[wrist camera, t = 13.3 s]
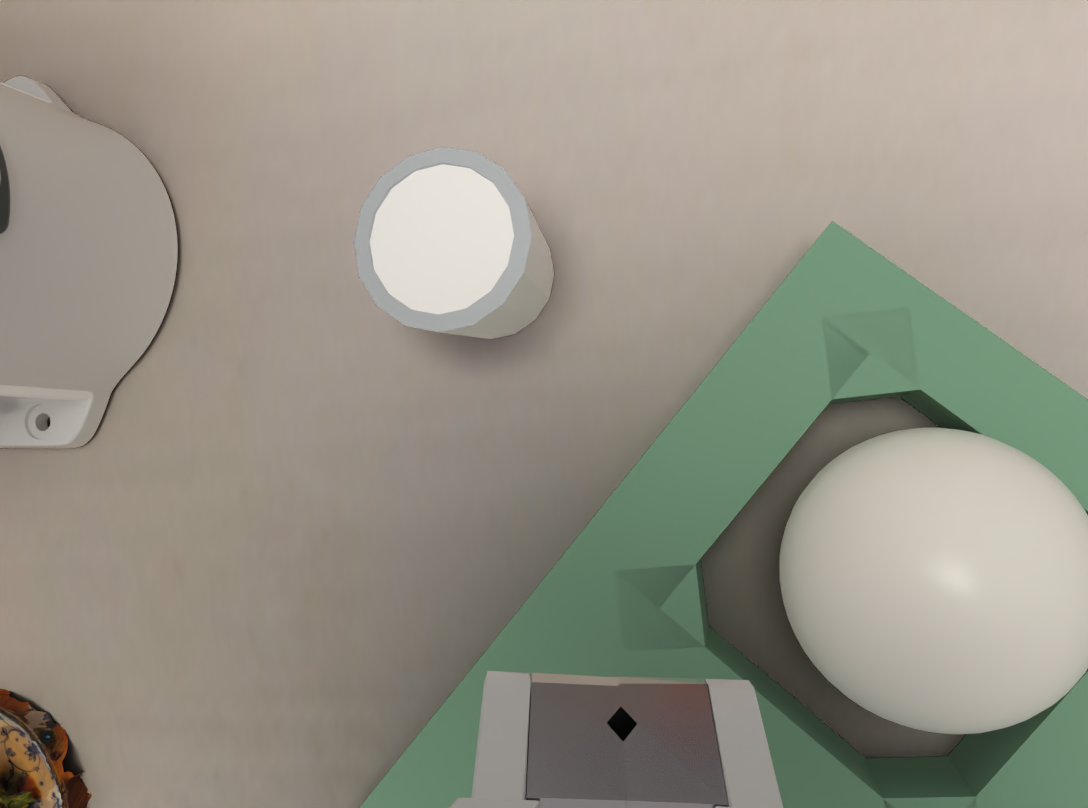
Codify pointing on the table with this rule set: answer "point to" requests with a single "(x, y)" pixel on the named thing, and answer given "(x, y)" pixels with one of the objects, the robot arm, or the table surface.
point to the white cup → (453, 247)
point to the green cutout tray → (721, 492)
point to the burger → (34, 760)
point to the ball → (940, 580)
